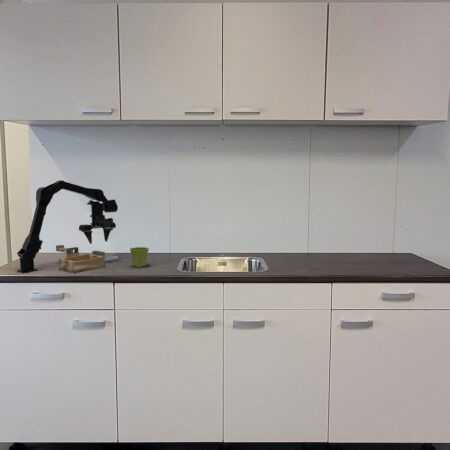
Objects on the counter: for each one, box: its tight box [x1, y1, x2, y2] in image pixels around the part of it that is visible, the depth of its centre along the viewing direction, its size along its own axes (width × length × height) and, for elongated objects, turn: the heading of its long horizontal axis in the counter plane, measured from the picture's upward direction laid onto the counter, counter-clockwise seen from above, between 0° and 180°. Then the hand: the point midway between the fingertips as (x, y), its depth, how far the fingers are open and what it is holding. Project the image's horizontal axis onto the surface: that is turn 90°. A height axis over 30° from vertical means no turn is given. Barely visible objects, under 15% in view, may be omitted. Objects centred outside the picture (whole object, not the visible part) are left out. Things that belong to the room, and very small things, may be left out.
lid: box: [91, 250, 119, 263], centre depth 194 cm, size 13×16×5 cm
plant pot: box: [129, 246, 150, 268], centre depth 180 cm, size 9×9×9 cm
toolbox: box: [58, 246, 106, 274], centre depth 176 cm, size 16×16×9 cm
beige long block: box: [55, 244, 74, 254], centre depth 184 cm, size 11×3×3 cm, turn 53°
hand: (98, 242), depth 193 cm, fingers open, 9 cm apart
